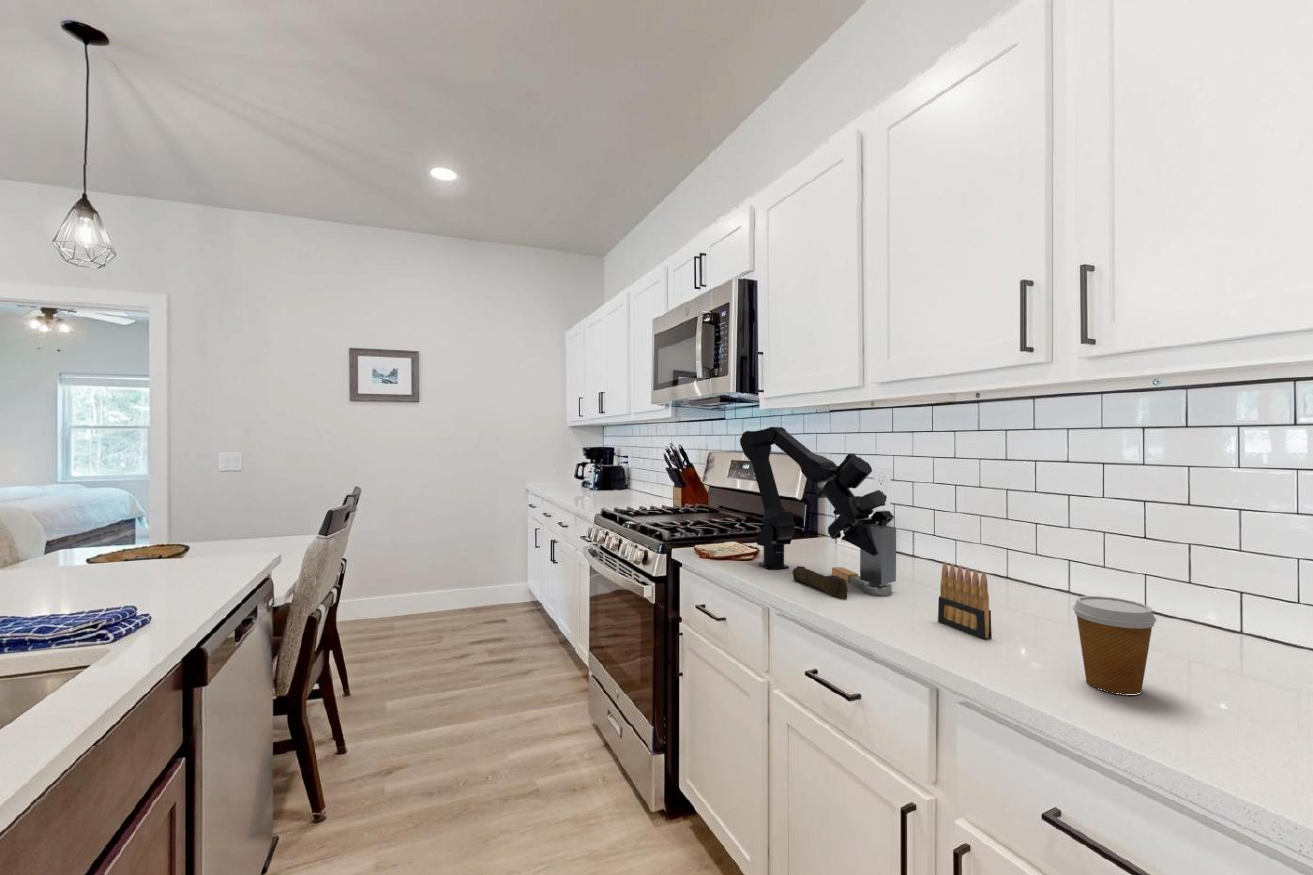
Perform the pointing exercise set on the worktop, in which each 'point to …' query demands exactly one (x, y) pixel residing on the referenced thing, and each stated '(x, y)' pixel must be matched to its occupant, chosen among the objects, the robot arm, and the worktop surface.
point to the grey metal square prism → (879, 555)
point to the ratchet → (863, 583)
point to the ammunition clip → (965, 602)
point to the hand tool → (822, 582)
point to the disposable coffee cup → (1114, 642)
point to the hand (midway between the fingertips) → (883, 553)
